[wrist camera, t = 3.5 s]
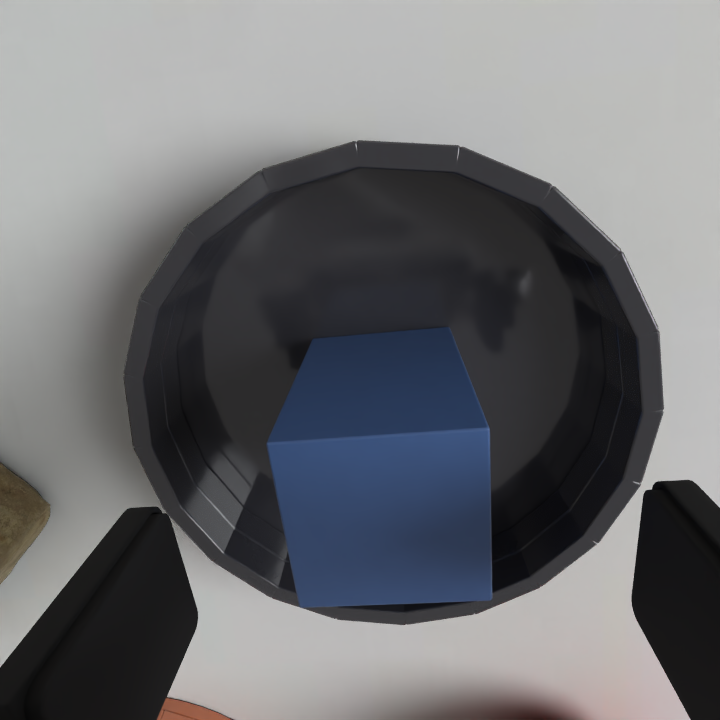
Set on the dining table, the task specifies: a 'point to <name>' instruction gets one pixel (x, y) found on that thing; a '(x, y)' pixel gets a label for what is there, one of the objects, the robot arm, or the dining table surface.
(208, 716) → the terracotta bowl
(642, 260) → the dining table surface
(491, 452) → the charcoal bowl
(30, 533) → the stone block
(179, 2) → the dining table surface
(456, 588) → the blue block
